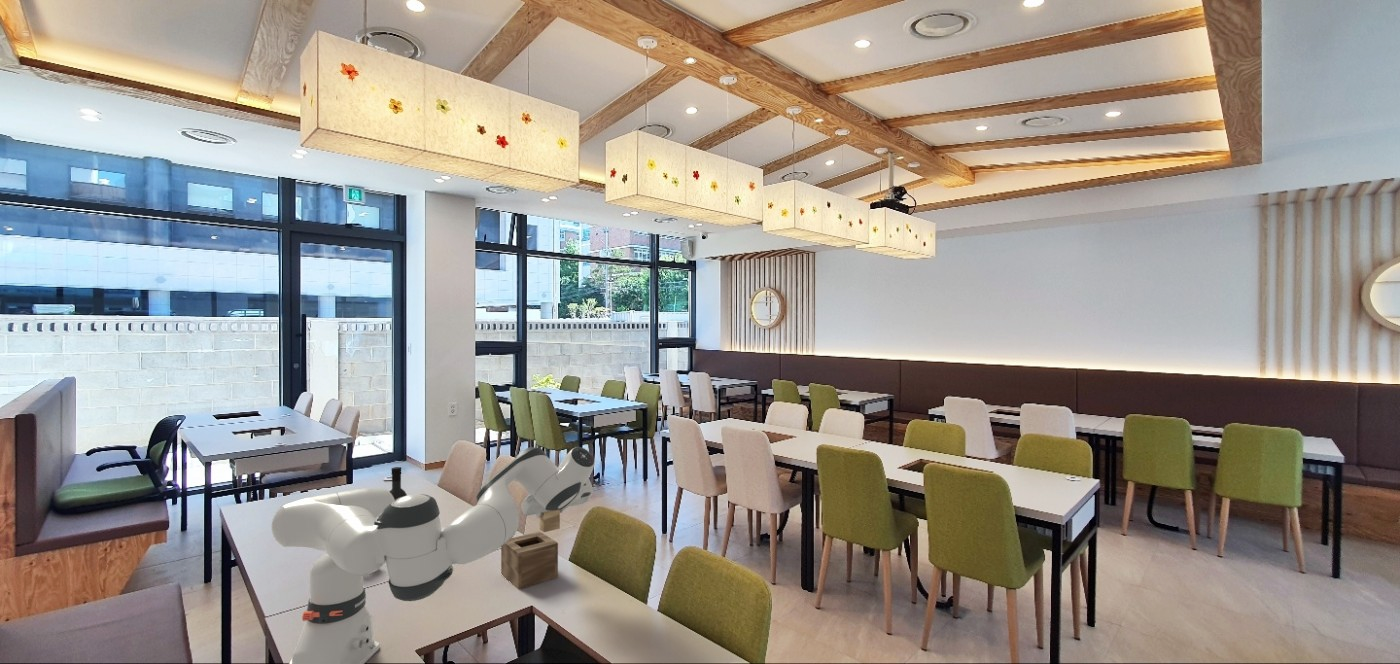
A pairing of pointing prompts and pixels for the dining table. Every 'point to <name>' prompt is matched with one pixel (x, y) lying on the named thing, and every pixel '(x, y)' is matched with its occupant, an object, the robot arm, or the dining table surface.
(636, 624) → the dining table surface
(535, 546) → the slot box
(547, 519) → the domino block
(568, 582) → the dining table surface
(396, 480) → the wine bottle
